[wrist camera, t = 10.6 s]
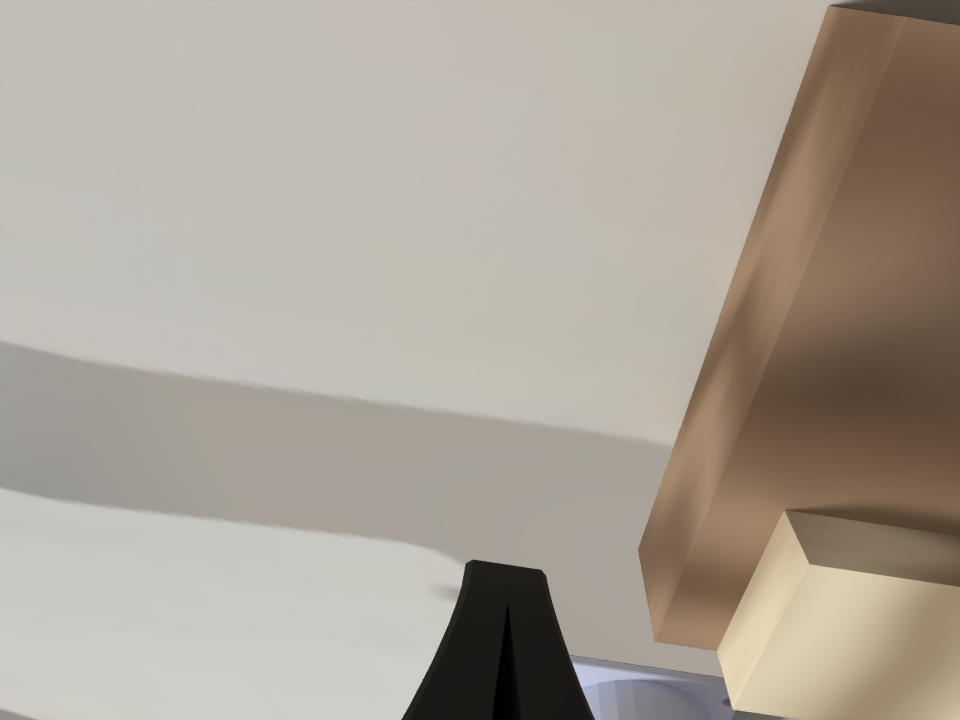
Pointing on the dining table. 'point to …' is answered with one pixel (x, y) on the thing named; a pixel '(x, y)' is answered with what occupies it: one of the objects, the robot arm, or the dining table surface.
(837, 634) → the cream flat block
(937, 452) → the tan flat block
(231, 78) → the dining table surface
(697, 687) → the robot arm
